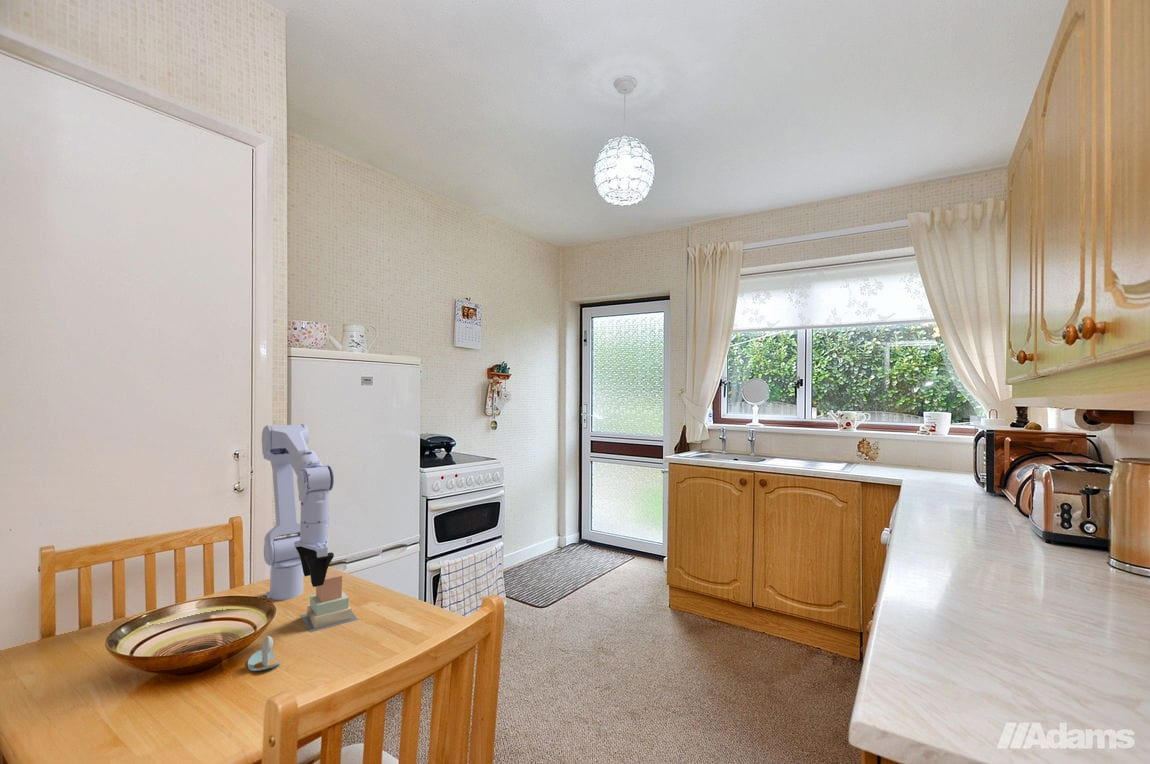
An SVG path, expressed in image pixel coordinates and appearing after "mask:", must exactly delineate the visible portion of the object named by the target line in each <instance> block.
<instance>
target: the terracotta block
mask: <svg viewBox="0 0 1150 764" xmlns="http://www.w3.org/2000/svg"><path fill="white" fill-rule="evenodd" d="M342 591H343V575H342V574H341V573H340V572H339V571H338V570H337V569H336V570H331V571H327V573H326V577H325V580H324V584H323V585H321V586H316V587H315V594H316V597H317V598H318V599H319V601H320V602H325V601H330V600H334V599H338V598H342Z"/></svg>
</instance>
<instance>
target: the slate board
mask: <svg viewBox="0 0 1150 764" xmlns="http://www.w3.org/2000/svg"><path fill="white" fill-rule="evenodd" d="M299 617H301V620H302V621H303V623H304V625H305V626H306V628H307V629H308V632H309V633H314V632H317V631H321V630H325V629H328V628H332V627H336V626H340V625H344V624H347V623H350V622H355V621H358V620H359V619H358V617H357V616H356V615H355V614H354V612H352V610H351V619H349V620H345V621H341V622H338V623H334V624H330V625H326V626H323V627H319V628H314V626H313V625H312V623H311V622H310V620H309V618H308V617H307V613H305V614H301V615H300V616H299Z"/></svg>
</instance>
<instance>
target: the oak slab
mask: <svg viewBox="0 0 1150 764" xmlns="http://www.w3.org/2000/svg"><path fill="white" fill-rule="evenodd" d="M351 611H352V607H351V606H350V604H348V609H344V610H340V611H336V612H332V613H328V614H324V615H320V616H317V615H316V614H315V612H314V611H313V609H312V608H311V606H310V604H308V605H307V606H306V614H307V617H308V618H309V620H310V622H311V623H312V625H313V626H314V628H319V627H323V626H326V625H330V624H334V623H338V622H341V621H345V620H349V619H351Z"/></svg>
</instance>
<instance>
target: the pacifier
mask: <svg viewBox="0 0 1150 764" xmlns="http://www.w3.org/2000/svg"><path fill="white" fill-rule="evenodd" d="M273 646H274V639H273V637H271V636H269V635H267V636H265V637H264V638H263V641H262V644H261V650H257V651H255V652H254V653H253V654H252V655H251V656H250V657H249V658H248V660H247V668H248V670H249V671H251V672H259V671H264V670H269V669H271V668H274V667H277V666H278V665H280V664H281V662H280V661H275V662H274V663H273V664H270V659H272V660H275V659H276V655H275V653H274V652H273V651H272V649H273ZM260 662H261V665H263V667H259V668H257V667H255V665H256V664H258V663H260Z"/></svg>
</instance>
